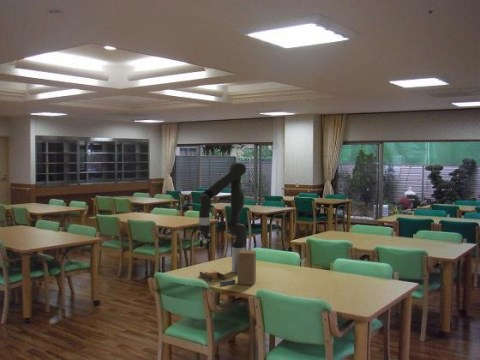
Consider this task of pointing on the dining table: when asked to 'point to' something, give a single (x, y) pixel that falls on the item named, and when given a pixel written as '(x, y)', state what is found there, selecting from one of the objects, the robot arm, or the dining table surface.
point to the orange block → (212, 273)
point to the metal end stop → (227, 282)
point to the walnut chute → (211, 276)
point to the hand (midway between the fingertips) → (204, 248)
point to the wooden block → (246, 267)
